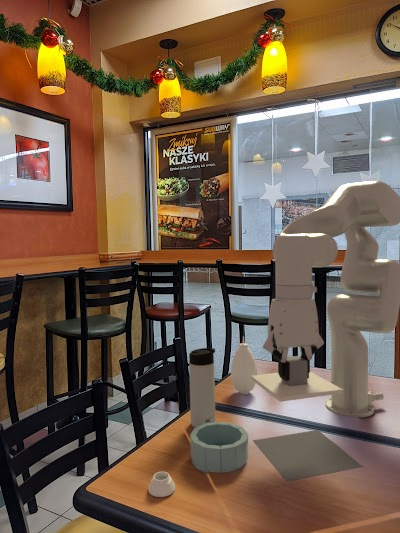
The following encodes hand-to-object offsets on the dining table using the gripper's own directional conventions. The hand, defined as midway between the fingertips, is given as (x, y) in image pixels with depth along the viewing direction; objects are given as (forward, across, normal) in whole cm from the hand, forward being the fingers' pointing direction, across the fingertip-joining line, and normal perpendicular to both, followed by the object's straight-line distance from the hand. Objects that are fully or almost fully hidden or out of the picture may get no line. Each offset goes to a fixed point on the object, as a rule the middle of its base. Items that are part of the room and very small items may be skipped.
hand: (294, 377), depth 88 cm
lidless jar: (+18, +30, +3) cm, 35 cm away
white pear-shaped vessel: (+17, -4, -38) cm, 42 cm away
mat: (+17, -2, 0) cm, 18 cm away
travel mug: (+18, +14, -20) cm, 30 cm away
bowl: (+17, +16, -4) cm, 24 cm away
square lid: (+2, 0, 0) cm, 2 cm away
